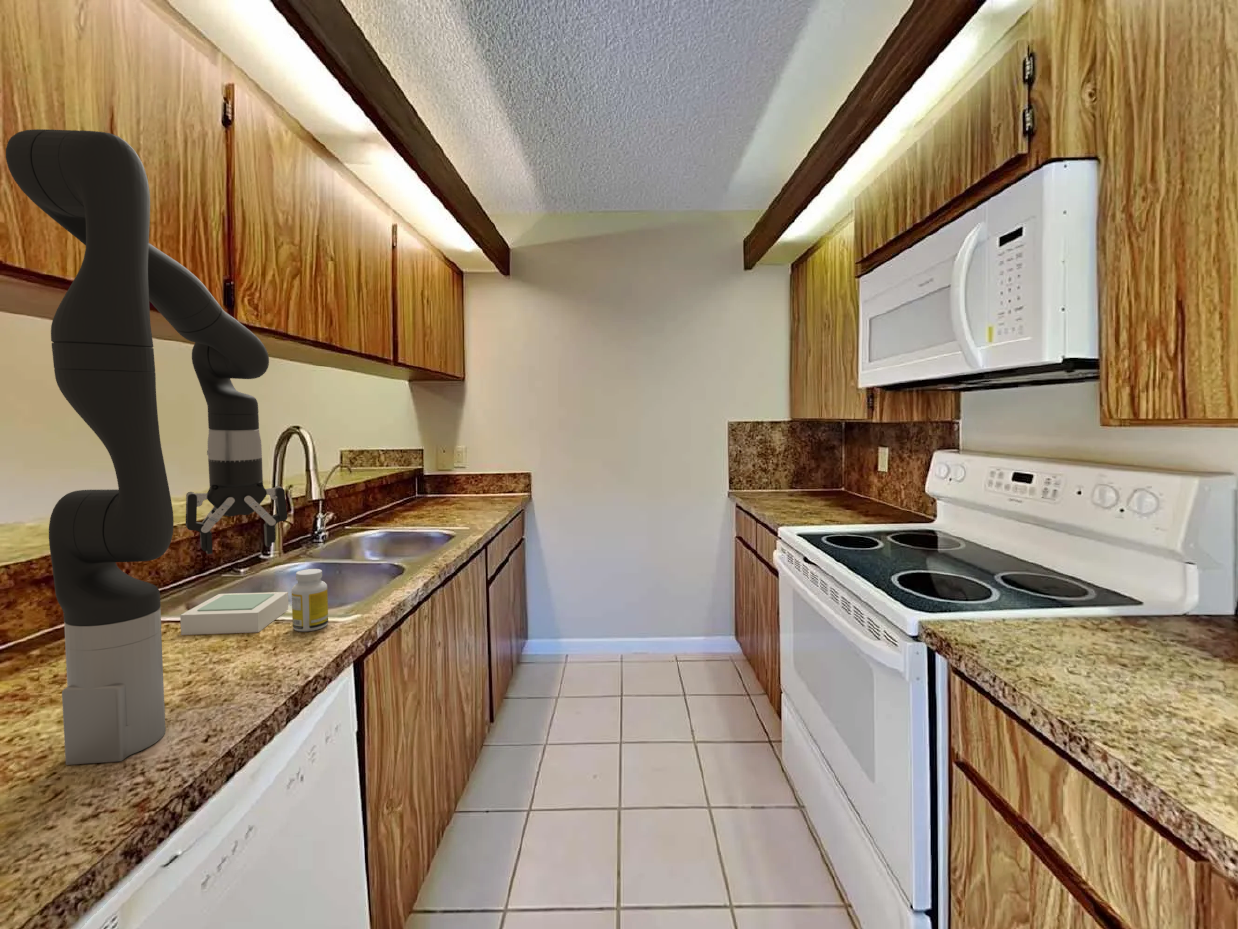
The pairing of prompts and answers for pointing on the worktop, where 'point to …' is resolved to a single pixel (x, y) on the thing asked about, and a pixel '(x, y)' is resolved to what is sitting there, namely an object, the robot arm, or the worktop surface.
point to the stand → (234, 613)
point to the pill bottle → (309, 601)
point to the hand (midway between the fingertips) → (239, 549)
